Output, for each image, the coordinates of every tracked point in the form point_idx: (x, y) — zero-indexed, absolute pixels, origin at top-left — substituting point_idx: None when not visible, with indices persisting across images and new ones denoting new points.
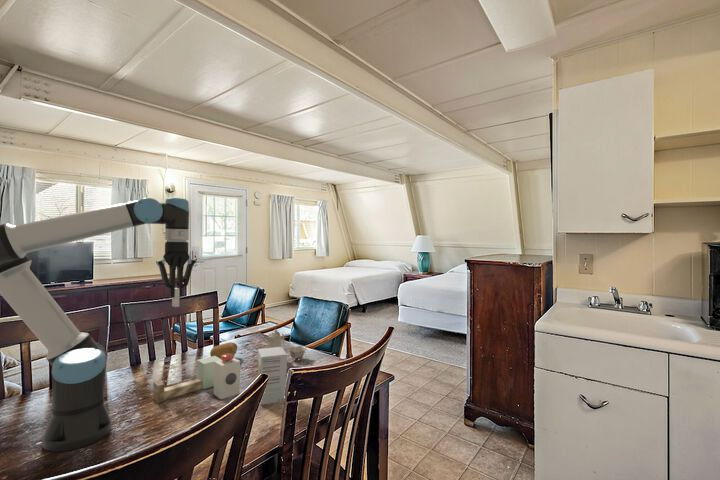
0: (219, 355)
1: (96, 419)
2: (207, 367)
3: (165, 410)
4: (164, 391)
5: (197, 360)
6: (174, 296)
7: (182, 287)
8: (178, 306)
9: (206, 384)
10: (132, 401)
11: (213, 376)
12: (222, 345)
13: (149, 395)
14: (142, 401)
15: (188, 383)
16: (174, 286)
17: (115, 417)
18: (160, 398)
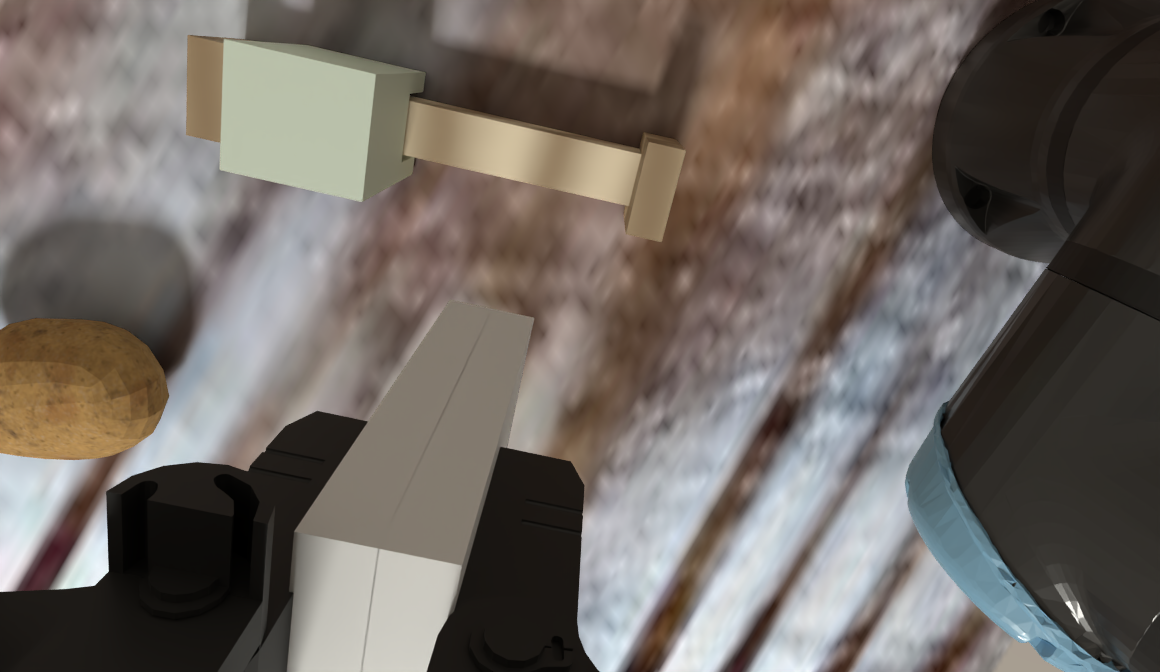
0: (123, 345)
1: (1128, 4)
2: (357, 66)
3: (704, 13)
4: (633, 153)
5: (363, 195)
6: (498, 449)
7: (182, 475)
8: (463, 302)
9: (399, 67)
10: (728, 277)
11: (338, 57)
12: (42, 403)
13: (642, 273)
14: (703, 233)
15: (484, 138)
16: (463, 656)
17: (875, 170)
18: (663, 138)
